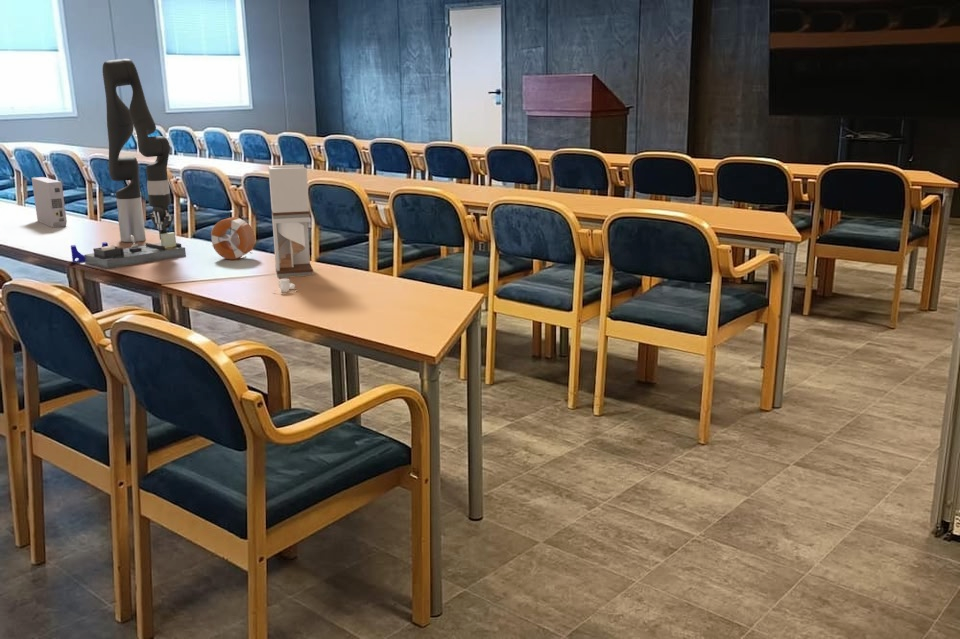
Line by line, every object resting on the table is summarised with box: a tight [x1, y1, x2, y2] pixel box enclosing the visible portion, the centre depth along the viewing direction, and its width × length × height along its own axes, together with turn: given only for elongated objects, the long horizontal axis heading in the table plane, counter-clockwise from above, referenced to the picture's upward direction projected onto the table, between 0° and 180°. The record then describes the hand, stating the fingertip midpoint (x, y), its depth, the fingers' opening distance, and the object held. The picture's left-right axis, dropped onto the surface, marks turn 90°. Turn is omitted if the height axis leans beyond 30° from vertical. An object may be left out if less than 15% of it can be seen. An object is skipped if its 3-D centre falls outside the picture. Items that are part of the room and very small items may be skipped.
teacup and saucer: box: [278, 278, 296, 293], centre depth 271 cm, size 9×8×4 cm
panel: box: [83, 242, 187, 270], centre depth 320 cm, size 16×30×6 cm, turn 139°
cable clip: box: [70, 241, 109, 264], centre depth 320 cm, size 12×4×6 cm, turn 119°
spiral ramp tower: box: [268, 164, 314, 278], centre depth 291 cm, size 11×11×35 cm
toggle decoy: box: [130, 235, 140, 248], centre depth 320 cm, size 1×2×5 cm, turn 139°
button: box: [100, 245, 115, 250], centre depth 312 cm, size 4×4×3 cm
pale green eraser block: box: [159, 231, 177, 248], centre depth 325 cm, size 2×5×5 cm, turn 139°
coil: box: [210, 215, 256, 261], centre depth 318 cm, size 7×15×15 cm, turn 78°
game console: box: [31, 176, 68, 228], centre depth 398 cm, size 6×27×20 cm, turn 40°
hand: (163, 239), depth 327 cm, fingers closed
